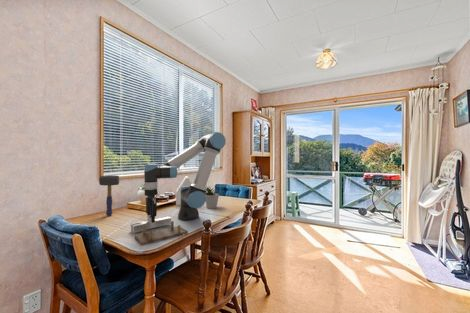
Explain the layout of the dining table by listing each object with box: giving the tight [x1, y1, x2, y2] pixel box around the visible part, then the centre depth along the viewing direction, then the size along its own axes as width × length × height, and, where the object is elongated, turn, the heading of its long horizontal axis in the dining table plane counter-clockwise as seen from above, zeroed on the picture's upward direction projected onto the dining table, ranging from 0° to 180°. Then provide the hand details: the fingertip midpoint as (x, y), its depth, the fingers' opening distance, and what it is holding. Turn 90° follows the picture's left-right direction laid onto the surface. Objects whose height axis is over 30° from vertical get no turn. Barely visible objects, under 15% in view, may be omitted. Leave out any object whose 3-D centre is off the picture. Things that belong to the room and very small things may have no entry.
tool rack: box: [134, 220, 189, 246], centre depth 122 cm, size 26×12×6 cm, turn 130°
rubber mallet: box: [98, 175, 120, 217], centre depth 161 cm, size 12×8×30 cm, turn 109°
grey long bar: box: [130, 216, 172, 233], centre depth 134 cm, size 23×6×4 cm, turn 130°
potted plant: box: [205, 184, 220, 210], centre depth 190 cm, size 13×14×20 cm
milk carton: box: [175, 175, 193, 207], centre depth 205 cm, size 19×15×25 cm
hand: (151, 226), depth 134 cm, fingers closed on grey long bar, 4 cm apart
